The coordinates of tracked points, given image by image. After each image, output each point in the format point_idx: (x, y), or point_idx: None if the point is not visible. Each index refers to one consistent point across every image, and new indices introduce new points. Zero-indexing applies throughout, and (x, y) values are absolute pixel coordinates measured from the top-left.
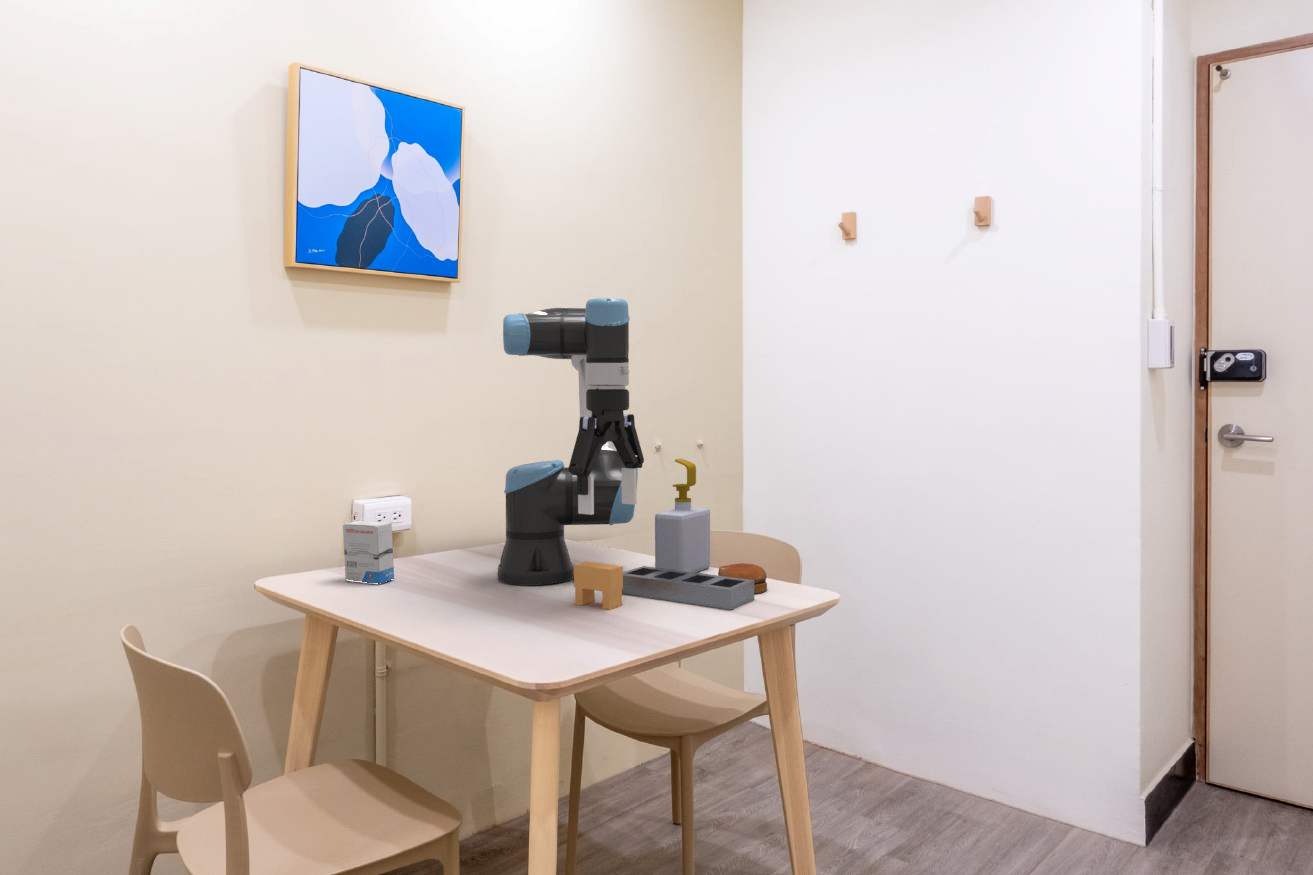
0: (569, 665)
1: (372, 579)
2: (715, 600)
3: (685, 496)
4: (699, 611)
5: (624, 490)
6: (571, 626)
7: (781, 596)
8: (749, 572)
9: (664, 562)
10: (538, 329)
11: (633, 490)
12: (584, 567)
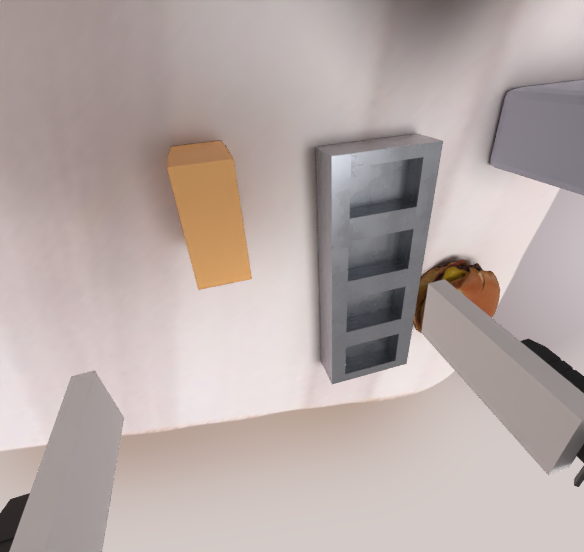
0: None
1: None
2: (324, 350)
3: None
4: (289, 342)
5: (467, 333)
6: (41, 281)
7: (421, 352)
8: None
9: (522, 124)
10: None
11: (460, 372)
12: (177, 207)
